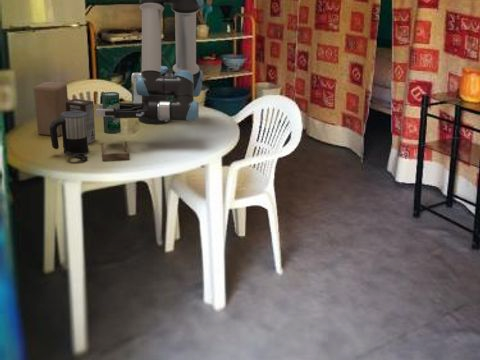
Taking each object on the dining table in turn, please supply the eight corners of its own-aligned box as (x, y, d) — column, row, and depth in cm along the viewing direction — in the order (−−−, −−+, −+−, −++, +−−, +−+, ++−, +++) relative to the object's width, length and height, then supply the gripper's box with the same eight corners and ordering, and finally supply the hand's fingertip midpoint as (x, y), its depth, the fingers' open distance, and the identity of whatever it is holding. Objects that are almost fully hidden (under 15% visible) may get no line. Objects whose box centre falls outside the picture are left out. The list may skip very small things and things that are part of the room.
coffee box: (67, 141, 243) (64, 101, 237) (76, 137, 248) (73, 98, 242) (87, 144, 240) (84, 104, 234) (96, 139, 246) (94, 100, 240)
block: (59, 136, 248) (55, 88, 241) (37, 134, 250) (32, 86, 242) (71, 130, 257) (67, 82, 250) (49, 128, 259) (44, 81, 251)
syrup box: (132, 101, 303) (131, 72, 298) (144, 101, 304) (144, 72, 298) (131, 104, 298) (130, 75, 293) (144, 104, 298) (143, 75, 293)
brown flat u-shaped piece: (126, 148, 237) (126, 141, 236) (129, 159, 225) (129, 153, 224) (101, 149, 235) (101, 143, 234) (102, 161, 223) (102, 154, 222)
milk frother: (78, 146, 238) (75, 108, 232) (106, 154, 229) (104, 116, 224) (47, 155, 227) (44, 116, 222) (76, 165, 218) (72, 124, 213)
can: (112, 134, 234) (110, 96, 229) (101, 132, 237) (98, 93, 232) (123, 131, 239) (122, 93, 234) (112, 128, 242) (110, 91, 237)
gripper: (157, 127, 229) (94, 126, 227) (160, 113, 247) (102, 113, 245) (156, 107, 226) (93, 106, 224) (159, 95, 244) (101, 94, 243)
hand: (97, 110), depth 235 cm, fingers closed on can, 6 cm apart
